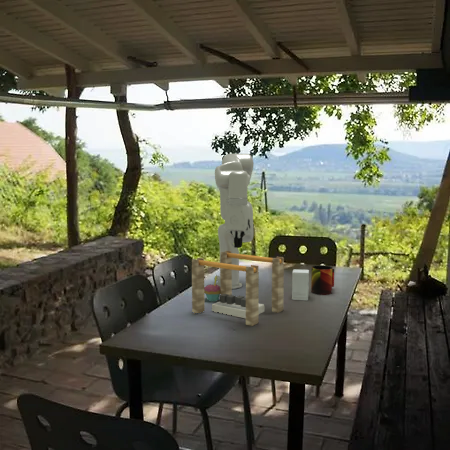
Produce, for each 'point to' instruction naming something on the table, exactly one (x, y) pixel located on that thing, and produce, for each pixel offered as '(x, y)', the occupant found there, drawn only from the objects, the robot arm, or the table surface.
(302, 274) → the supplement box
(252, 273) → the wooden post rack
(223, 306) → the breaker panel
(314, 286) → the mug
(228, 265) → the orange rounded rod
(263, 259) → the orange cylindrical bar
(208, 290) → the cupcake
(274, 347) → the table surface
